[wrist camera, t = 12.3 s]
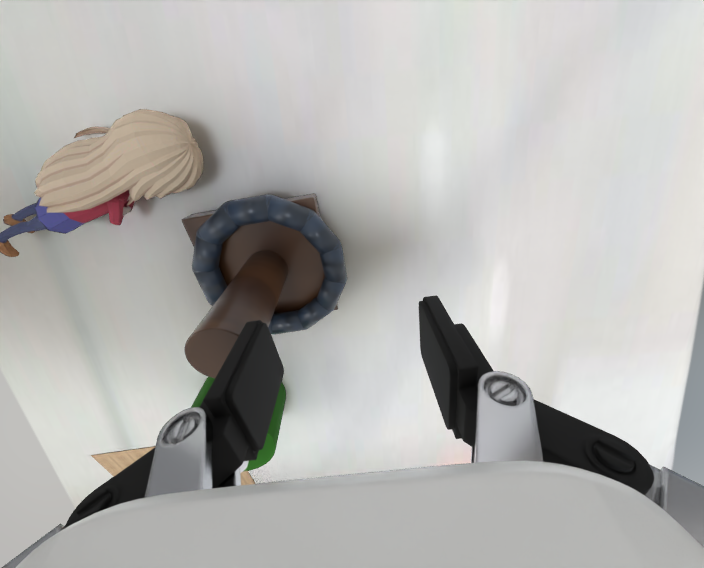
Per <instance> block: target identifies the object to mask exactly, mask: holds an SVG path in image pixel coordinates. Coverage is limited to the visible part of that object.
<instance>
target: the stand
mask: <svg viewBox="0 0 704 568" xmlns="http://www.w3.org/2000/svg"><path fill="white" fill-rule="evenodd" d="M285 200H288V201H291V202H293V203H296V204H299V205H301V206H304V207H307V208H309V209H312V210H313V211H315V212H316V214H317V215H318V216H319V217H320V213H319V208H318V204H317V199H316V195H315V194H309V195H303V196H297V197H291V198H286V199H285ZM216 211H217V210H215V211H209V212H203V213H197V214H192V215H190V216H188V217H186V218H184V219H182V222H183V225H184V227H185V229H186V231H187V233H188V235H189V237H190V240H191V242H192V244H193V246H194V247H195V239H196V232H197V230H198V229H199V227H201V226H202V225H203V224H204V223H205V222H206V221H207V220H208V219H209V218H210V217H211V216H212V215H213V214H214V213H215V212H216ZM219 268H220V270H221V273H222V275H223V277H224V280H225V282H226V284H227V288H226V289H225V291H224V292H223V293H222V295H221V296H220V297H219V299H218V300H217V301H216V302H215V304H214V305H213V306H212V308H211V309H210V310H209V312H208V313H207V314H206V316H205V317H204V318H203V320H202V321H201V322H200V324H199V325H198V326H197V328H196V329H195V330H194V332H193V333H192V334H191V336H190V337H189V338H188V340H187V342H186V344H185V355H186V358H187V360H188V361H189V363H190V364H191V365H192V366H193V367H194V368H195V369H196V370H197V371H199V372H200V373H202V374H204V375H206V376H209V377H212V378H216V376H217V374H218V372H219V371H220V369H221V367H222V365H223V363H224V362H225V360H226V358H227V356H228V354H229V353H230V351H231V349H232V347H233V346H234V344H235V342H236V340H237V338H238V337H239V335H240V333H241V331H242V329H243V328H244V326H245V324H246V323H247V322H249V321H257V320H261V321H262V322H263V323H266V324H267V326H268V327H269V324H270V321H271V319H272V316H273V313H274V314H276V313H283V312H289V311H296V310H300V309H301V308H302V307H304V306H305V305H307V304H308V303H309V302H311V301H312V300H313V299H315V298H316V297H317V295H318V293H319V290H320V288H321V285H322V282H323V280H324V277H325V276H324V271H323V267H322V262H321V258H320V253H319V252H318V251H317V250H316V249H315V247H314V246H313V245H312V244H311V243H310V242H309V241H308V240H307V239H306V238H305V237H304V236H303V235H302V234H301V232H300V231H297V230H294V229H291V228H288V227H285V226H283V225H280V224H277V223H274V222H271V221H268V222H262V223H256V224H249V225H243V226H241V227H239V228H238V229H237V230H236V231H235V232H234V233H233V234H232V235H231V236H230V237H229V238H228V239H227V240H225V241H224V242H223V245H222V251H221V256H220V262H219ZM337 309H338V302H337V305H336V307H335V309H334V310H337Z"/></svg>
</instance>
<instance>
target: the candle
mask: <svg viewBox="0 0 704 568" xmlns="http://www.w3.org/2000/svg"><path fill="white" fill-rule="evenodd" d="M214 380H215V378H212V377H208V378H207V379H206V381H205V383H204V385H203V387H202V388H201V390H200V392H199V394H198V396H197V398H196V399H195V401H194V403H193V405H192V407H200V405H201V403H202V401H203V399H204V397H205V396H206V394H207V392H208V390H209V388H210V387H211V385H212V383H213V381H214ZM285 399H286V391H285V387H284V385H283V384H282V382H281V385H280V389H279V393H278V396H277V400H276V404H275V407H274V411H273V414H272V418H271V422H270V425H269V429H268V433H267V436H266V440H265V444H264V447H263V449H262V450H259V452H258V455H257V459H256V460H252V461H243V464H242V465H241V466H240V473H241V472H244V471H249V470H253V469H256V468H259V467H261V466H263V465H264V464H266V463H267V462H268V461H270V460H271V458H272V457H273V455H274V453H275V450H276V445H277V440H278V435H279V429H280V424H281V419H282V414H283V409H284V404H285ZM192 407H191V408H192Z"/></svg>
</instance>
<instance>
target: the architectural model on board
mask: <svg viewBox="0 0 704 568" xmlns="http://www.w3.org/2000/svg"><path fill="white" fill-rule="evenodd" d="M153 448H155V447H149V448H142V449H135V450H128V451H120V452H113V453H106V454H99V455H92V457H93V458H94V459H95V460H96V461H97V462H99V463H100V464H101V465H102V466H103V467H104V468H105V469H106V470H107V471H108V472H109V473H111V474H112V475H113V476H115V475H117V474H118V473H120V472H121V471H122V470H124V469H125V468H127V467H128V466H129V465H131V464H132V463H134V462H135V461H136V460H138V459H139V458H141V457H142V456H144V455H145V454H146V453H148V452H149V451H151V450H152V449H153ZM240 475H241V485H250V484H255V483H254V481H253V479H252V478H251V476H250V475H249V473H248V471H244V472H241V473H240Z"/></svg>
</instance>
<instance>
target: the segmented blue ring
mask: <svg viewBox="0 0 704 568" xmlns="http://www.w3.org/2000/svg"><path fill="white" fill-rule="evenodd" d="M268 221H271V222H274V223H277V224H280V225H283V226H285V227H288V228H291V229H294V230H297V231H300V232H301V234H302V235H303V236H304V237H305V238H306V239H307V240H308V241H309V242H310V243H311V244H312V245H313V246H314V247H315V249H316V250H317V251H318V252H319V253H320V258H321V262H322V267H323V271H324V276H325V277H324V280H323V282H322V285H321V288H320V290H319V293H318V295H317V297H316V298H315V299H313V300H312V301H311V302H309V303H308V304H307V305H305V306H304V307H302V308H301V309H300V310H296V311H289V312H283V313H276V314H274V313H273V316H272V319H271V321H270V324H269V327H268V328H269V331H270V334H280V333H286V332H293V331H299V330H305V329H308V328H310V327H311V326H312V325H314V324H315V323H317V322H318V321H319V320H321V319H322V318H324V317H325V316H326V315H328V314H329V313H331V312H332V311H333V310H334V309H335V307H336V305H337V302H338V300H339V298H340V295H341V293H342V291H343V288H344V286H345V284H346V281H347V273H346V267H345V261H344V256H343V250H342V245H341V242H340V240H339V239H338V238H337V237H336V236H335V234H334V233H333V232H332V231H331V230H330V229H329V228H328V226H327V225H326V224H325V223H324V222H323V221H322V219H321V218H320V217H319V216H318V215H317V214H316V212H315V211H313V210H312V209H309V208H307V207H304V206H301V205H299V204H296V203H293V202H291V201H288V200H285V199H283V198H280V197H277V196H275V195H271V194H268V195H261V196H255V197H249V198H243V199H237V200H231V201H227V202H225V203H224V204H223V205H222V206H221V207H220V208H219V209H218V210H217V211H216V212H215V213H214V214H213V215H212V216H211V217H210V218H209V219H208V220H207V221H206V222H205V223H204V224H203V225H202V226H201V227H199V229H198V230H197V232H196V239H195V247H194V254H193V262H192V270H193V272H194V274H195V276H196V278H197V280H198V283H199V285H200V287H201V289H202V291H203V293H204V295H205V297H206V299H207V301H208V302H209V303H210V304H211V305H212V306H213V305H214V304H215V302H216V301H217V300H218V299H219V297H220V296H221V295H222V293H223V292H224V291H225V289H226V288H227V284H226V282H225V280H224V277H223V275H222V273H221V270H220V268H219V262H220V256H221V251H222V245H223V242H224V241H225V240H227V239H228V238H229V237H230V236H231V235H232V234H233V233H234V232H235V231H236V230H237V229H238V228H239V227H241V226H243V225H249V224H256V223H262V222H268Z"/></svg>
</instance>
